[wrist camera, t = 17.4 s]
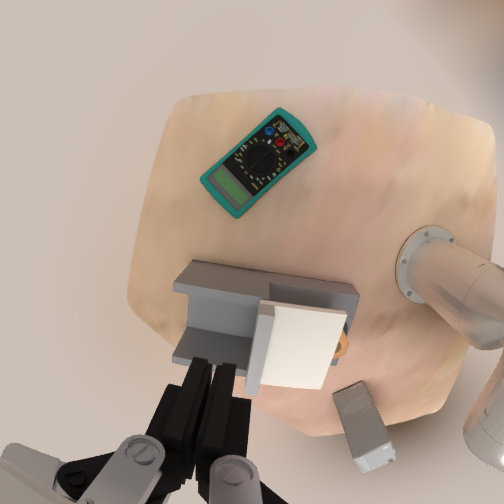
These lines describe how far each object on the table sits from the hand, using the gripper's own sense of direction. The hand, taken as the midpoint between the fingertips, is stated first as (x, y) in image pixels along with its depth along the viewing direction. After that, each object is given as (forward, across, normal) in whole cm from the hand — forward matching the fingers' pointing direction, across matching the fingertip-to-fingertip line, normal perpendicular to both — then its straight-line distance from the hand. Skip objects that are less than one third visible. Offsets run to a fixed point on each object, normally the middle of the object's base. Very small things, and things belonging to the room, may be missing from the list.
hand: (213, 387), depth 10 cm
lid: (+20, -7, +11) cm, 24 cm away
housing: (+29, -3, +11) cm, 31 cm away
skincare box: (+29, -24, +28) cm, 47 cm away
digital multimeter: (+30, +1, -10) cm, 31 cm away
